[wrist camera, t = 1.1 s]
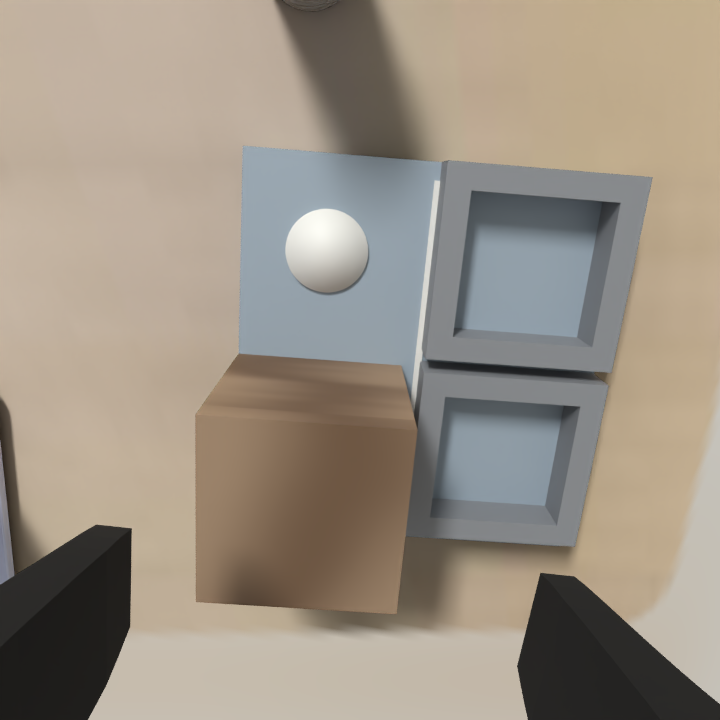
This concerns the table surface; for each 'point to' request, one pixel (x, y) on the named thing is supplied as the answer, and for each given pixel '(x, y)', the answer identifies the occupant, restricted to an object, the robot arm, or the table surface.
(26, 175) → the table surface
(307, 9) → the pin
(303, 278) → the board
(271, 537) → the wooden toy block
